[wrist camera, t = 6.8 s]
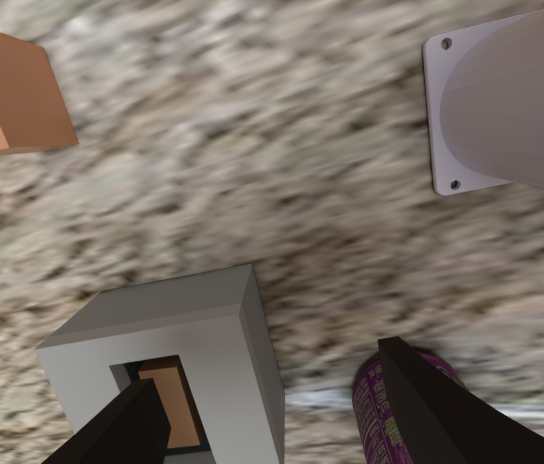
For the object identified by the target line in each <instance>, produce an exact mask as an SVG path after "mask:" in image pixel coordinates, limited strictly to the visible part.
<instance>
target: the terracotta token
mask: <svg viewBox="0 0 544 464" xmlns="http://www.w3.org/2000/svg"><path fill="white" fill-rule="evenodd" d="M76 144H79V142H78V139H77V136H76V134H75V131H74V128H73V125H72V123H71V120H70V117H69V115H68V112H67V109H66V106H65V104H64V101H63V98H62V95H61V93H60V90H59V87H58V85H57V82H56V79H55V76H54V74H53V71H52V68H51V65H50V63H49V60H48V57H47V54H46V52H45V49H44V48H43V47H40V46H37V45H34V44H32V43H29V42H26V41H23V40H20V39H17V38H14V37H12V36H9V35H6V34H3V33H0V155H9V154H21V153H34V152H46V151H51V150H55V149H60V148H64V147H68V146H72V145H76Z"/></svg>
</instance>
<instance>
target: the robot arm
mask: <svg viewBox="0 0 544 464" xmlns="http://www.w3.org/2000/svg"><path fill="white" fill-rule="evenodd" d="M442 40H446V41H448V44H449V45H448V48H447V50H444V49H443V48H442V47H441V42H442ZM423 60H424V72H425V84H426V97H427V109H428V121H429V134H430V146H431V158H432V170H433V183H434V190H435V192H436V193H437V194H440V195H442V196H447V195H452V194H458V193H463V192H468V191H473V190H478V189H483V188H488V187H493V186H498V185H503V184H508V183H514V182H518V183H523V184H528V185H532V186H537V187H542V188H544V8H542V9H540V10H536V11H531V12H527V13H523V14H519V15H515V16H511V17H507V18H503V19H499V20H495V21H491V22H487V23H482V24H478V25H474V26H470V27H466V28H462V29H458V30H454V31H450V32H446V33H442V34H438V35H434V36H432V37H430V38H429V39H428V40H427V41H426V42H425V43H424V45H423ZM455 180H456V181H457V186H456V187H455V188H453V189H452V188H451V183H452V182H453V181H455ZM378 346H379V353H380V359H381V366H382V373H383V380H384V386H385V393H386V397H387V400H388V403H389V406H390V409H391V411H392V414H393V417H394V420H395V423H396V426H397V429H398V431H399V433H400V435H401V437H402V439H403V442H404V444H405V446H406V448H407V450H408V452H409V455H410V457H411V459H412V461H413V463H414V464H544V437H542V436H541V435H539V434H537V433H535V432H533V431H531V430H530V429H528V428H526V427H524V426H523V425H521V424H519V423H518V422H516V421H514V420H513V419H511V418H509V417H507V416H506V415H504V414H502V413H501V412H499V411H497V410H496V409H494V408H493V407H491V406H490V405H488V404H486V403H485V402H484V401H482V400H481V399H479V398H478V397H476V396H475V395H473V394H472V393H470V392H469V391H467V390H466V389H465V388H463V387H462V386H460V385H459V384H458V383H456V382H455V381H454V380H452V379H451V378H450V377H448V376H447V375H446V374H444V373H443V372H442V371H440V370H439V369H438V368H436V367H435V366H434V365H433V364H431V363H430V362H429V361H428V360H426V359H425V358H424V357H423V356H421V355H420V354H419V353H418V352H417V351H415V350H414V349H413V348H412V347H411V346H409V345H408V344H407V343H406V342H405V341H404V340H402V339H401V338H400V337H398V336H396V337H390V338H384V339H378ZM170 432H171V425H170V422H169V420H168V417H167V414H166V412H165V409H164V406H163V404H162V401H161V398H160V396H159V393H158V390H157V387H156V385H155V382H154V379H153V378H147V379H141V380H135V381H134V382H133V383H131V384H130V385H129V386H128V387H126V388H125V389H124V390H123V391H122V392H121V393H120V394H118V395H117V396H116V397H115V398H114V399H113V400H112V401H111V402H110V403H109V404H107V405H106V406H105V407H104V408H103V409H102V410H101V411H100V412H99V413H98V414H97V415H96V416H94V417H93V418H92V419H91V420H90V421H89V422H88V423H87V424H86V425H85V426H83V427H82V428H81V429H80V430H79V431H78V432H77V433H76V434H75V435H74V436H72V437H71V438H70V439H69V440H68V441H67V442H65V443H64V444H63V445H62V446H61V447H60V448H59V449H57V450H56V451H55V452H54V453H53V454H52V455H50V456H49V457H48V458H47V459H46V460H45V461H44V462H42V463H41V464H163V463H164V459H165V455H166V451H167V447H168V442H169V437H170Z"/></svg>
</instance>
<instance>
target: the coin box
mask: <svg viewBox="0 0 544 464" xmlns="http://www.w3.org/2000/svg"><path fill="white" fill-rule="evenodd" d="M34 350H35V352H36V354H37V356H38V359H39V361H40V363H41V365H42V367H43V369H44V371H45V373H46V375H47V377H48V379H49V381H50V383H51V385H52V387H53V390H54V392H55V394H56V396H57V398H58V400H59V402H60V404H61V406H62V408H63V410H64V412H65V414H66V416H67V419H68V421H69V423H70V425H71V427H72V429H73V431H74V433H75V434H76V433H77V432H78V431H79V430H80V429H81V428H82V427H83V426H85V425H86V424H87V423H88V422H89V421H90V420H91V419H92V418H93V417H94V416H96V415H97V414H98V413H99V412H100V411H101V410H102V409H103V408H104V407H105V406H106V405H107V404H109V403H110V402H111V401H112V400H113V399H114V398H115V397H116V396H117V395H118V394H120V393H121V392H122V391H123V390H124V389H125V388H126V387H128V386H129V385H130V384H131V383H133V382H134V381H135V380H141V379H140V376H139V373H138V371H139V369H140V368H141V366H142V365H143V363H144V361H145V360H146V359H152V358H158V357H165V356H171V355H177V354H179V357H180V360H181V363H182V366H183V368H184V371H185V374H186V377H187V380H188V383H189V386H190V389H191V392H192V395H193V397H194V400H195V403H196V406H197V409H198V412H199V415H200V418H201V421H202V424H203V427H204V429H205V430H204V433H203V437H202V440H201V444H200V445H196V446H186V447H176V448H167V451H166V455H165V459H164V463H163V464H284V435H285V393H284V389H283V385H282V381H281V377H280V373H279V369H278V365H277V361H276V357H275V353H274V349H273V345H272V341H271V337H270V333H269V329H268V325H267V321H266V317H265V313H264V309H263V305H262V301H261V297H260V293H259V289H258V285H257V281H256V277H255V273H254V269H253V265H252V263H251V264H246V265H241V266H235V267H230V268H225V269H219V270H214V271H208V272H203V273H198V274H192V275H187V276H182V277H176V278H171V279H166V280H160V281H155V282H150V283H144V284H139V285H134V286H128V287H123V288H118V289H112V290H107V291H102V292H101V293H100V294H98V295H97V296H96V297H95V298H94V299H93V300H91V301H90V302H89V303H88V304H87V305H86V306H84V307H83V308H82V309H81V310H80V311H79V312H77V313H76V314H75V315H74V316H73V317H72V318H70V319H69V320H68V321H67V322H66V323H65V324H63V325H62V326H61V327H60V328H59V329H58V330H56V331H55V332H54V333H53V334H52V335H51V336H49V337H48V338H47V339H46V340H45V341H44V342H42V343H41V344H40V345H39V346H38V347H37V348H35V349H34Z"/></svg>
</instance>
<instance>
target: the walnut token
mask: <svg viewBox="0 0 544 464" xmlns="http://www.w3.org/2000/svg"><path fill="white" fill-rule="evenodd" d="M138 373H139V376H140V379H147V378H153V379H154V382H155V385H156V387H157V390H158V393H159V396H160V398H161V401H162V404H163V406H164V409H165V412H166V414H167V417H168V420H169V422H170V425H171V432H170V437H169V442H168V447H167V448H176V447H186V446H196V445H200V444H201V440H202V437H203V433H204V430H205V429H204V427H203V424H202V421H201V418H200V415H199V412H198V409H197V406H196V403H195V400H194V397H193V395H192V392H191V389H190V386H189V383H188V380H187V377H186V374H185V371H184V368H183V366H182V363H181V360H180V357H179V354H177V355H171V356H165V357H158V358H152V359H146V360H145V361H144V363H143V365H142V366H141V368H140V369H139V371H138Z"/></svg>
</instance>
